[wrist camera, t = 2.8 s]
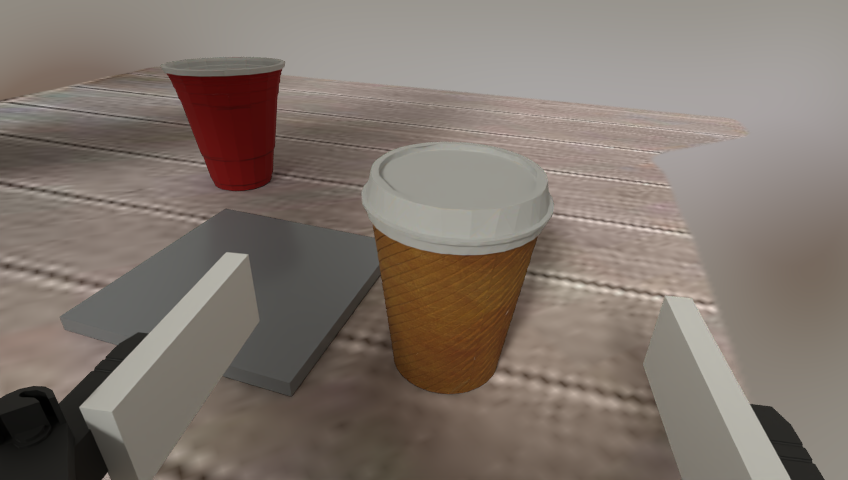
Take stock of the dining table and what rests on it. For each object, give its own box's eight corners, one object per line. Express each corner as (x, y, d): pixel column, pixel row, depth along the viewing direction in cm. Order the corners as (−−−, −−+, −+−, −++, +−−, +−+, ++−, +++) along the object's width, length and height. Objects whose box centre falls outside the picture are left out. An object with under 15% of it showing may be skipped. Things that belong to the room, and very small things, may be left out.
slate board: (64, 329, 31) (59, 317, 31) (227, 218, 45) (225, 208, 44) (291, 396, 27) (289, 383, 27) (396, 252, 41) (396, 242, 40)
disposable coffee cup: (456, 450, 25) (477, 239, 19) (333, 355, 30) (319, 168, 24) (554, 354, 31) (594, 172, 25) (438, 290, 36) (447, 128, 30)
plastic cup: (291, 156, 58) (279, 47, 52) (302, 194, 49) (290, 68, 43) (189, 164, 55) (165, 49, 49) (182, 207, 46) (151, 72, 40)
